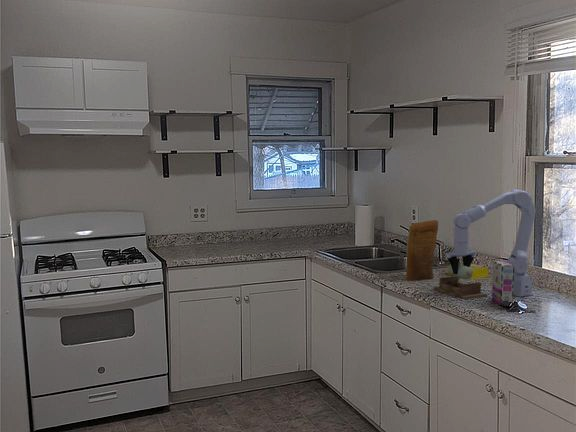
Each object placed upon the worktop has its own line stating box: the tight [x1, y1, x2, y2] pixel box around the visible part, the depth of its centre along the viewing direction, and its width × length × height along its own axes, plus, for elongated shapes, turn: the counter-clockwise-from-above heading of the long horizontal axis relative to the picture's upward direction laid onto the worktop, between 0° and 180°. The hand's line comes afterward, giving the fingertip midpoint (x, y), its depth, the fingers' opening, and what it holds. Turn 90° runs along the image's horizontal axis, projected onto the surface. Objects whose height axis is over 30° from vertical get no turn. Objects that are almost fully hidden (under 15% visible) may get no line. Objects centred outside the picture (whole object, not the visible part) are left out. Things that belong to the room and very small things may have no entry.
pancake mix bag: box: [405, 219, 439, 282], centre depth 272 cm, size 7×19×28 cm, turn 115°
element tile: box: [446, 263, 490, 280], centre depth 282 cm, size 15×15×5 cm
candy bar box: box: [491, 260, 514, 306], centre depth 228 cm, size 11×5×16 cm, turn 178°
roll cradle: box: [433, 275, 488, 300], centre depth 246 cm, size 20×12×6 cm, turn 22°
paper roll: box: [448, 263, 473, 280], centre depth 246 cm, size 10×5×5 cm, turn 22°
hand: (460, 273), depth 246 cm, fingers closed on paper roll, 5 cm apart
